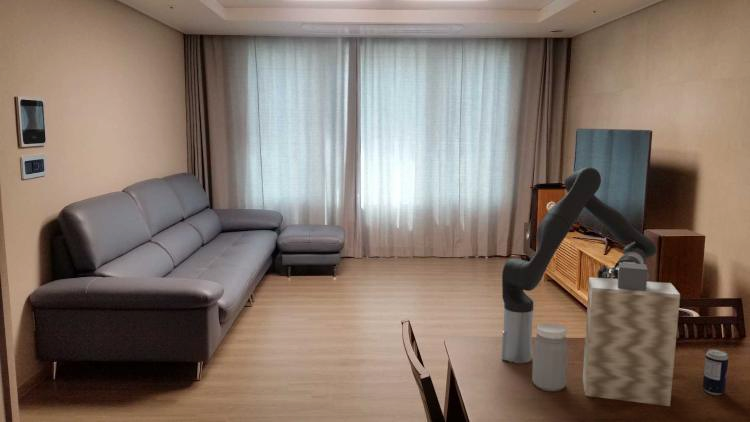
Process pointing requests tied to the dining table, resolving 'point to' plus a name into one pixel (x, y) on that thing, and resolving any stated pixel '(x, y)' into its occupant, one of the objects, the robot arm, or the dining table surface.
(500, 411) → the dining table surface
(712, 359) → the beverage can
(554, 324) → the jar
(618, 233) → the robot arm
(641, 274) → the salmon and grey blocks
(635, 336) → the beige zigzag box
